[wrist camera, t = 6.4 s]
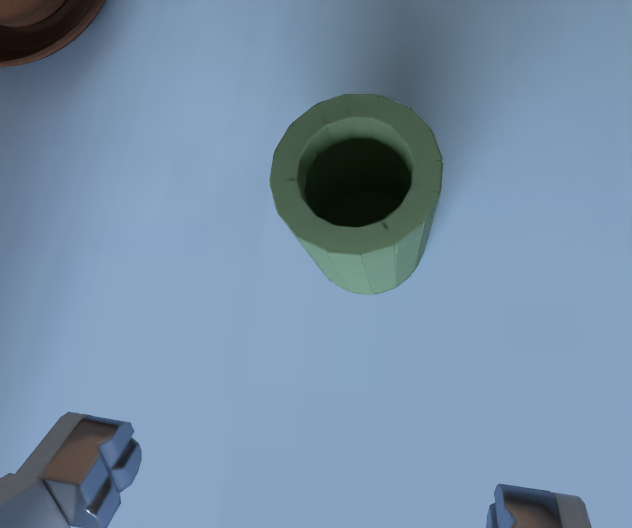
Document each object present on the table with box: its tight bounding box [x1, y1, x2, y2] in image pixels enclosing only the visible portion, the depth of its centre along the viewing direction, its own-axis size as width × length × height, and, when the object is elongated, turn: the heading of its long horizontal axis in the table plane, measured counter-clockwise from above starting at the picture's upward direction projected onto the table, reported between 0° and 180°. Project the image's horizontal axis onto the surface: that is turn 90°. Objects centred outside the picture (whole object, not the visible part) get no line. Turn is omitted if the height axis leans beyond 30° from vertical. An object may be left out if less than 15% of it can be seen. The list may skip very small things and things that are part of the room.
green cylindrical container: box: [270, 94, 443, 294], centre depth 19 cm, size 5×5×8 cm
